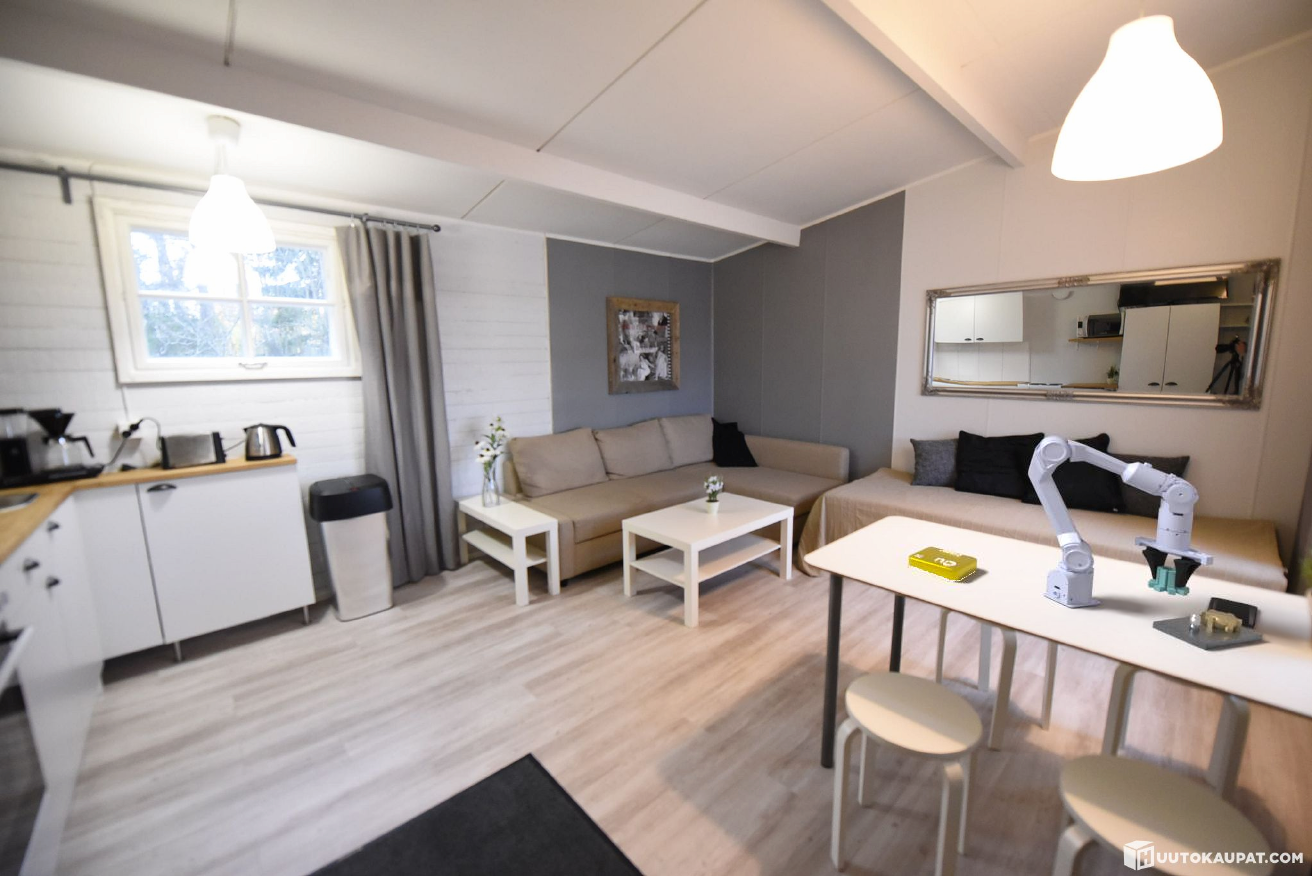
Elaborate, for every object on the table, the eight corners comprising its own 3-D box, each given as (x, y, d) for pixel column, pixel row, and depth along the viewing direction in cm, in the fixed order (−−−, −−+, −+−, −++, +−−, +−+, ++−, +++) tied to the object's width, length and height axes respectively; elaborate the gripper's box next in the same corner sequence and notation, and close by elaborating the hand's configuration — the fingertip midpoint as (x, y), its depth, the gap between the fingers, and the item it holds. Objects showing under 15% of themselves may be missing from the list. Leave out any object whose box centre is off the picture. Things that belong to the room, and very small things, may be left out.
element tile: (979, 571, 155) (979, 557, 154) (956, 584, 146) (957, 569, 145) (929, 558, 167) (930, 544, 166) (905, 569, 158) (906, 554, 157)
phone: (1257, 606, 126) (1255, 626, 116) (1257, 610, 126) (1254, 631, 116) (1211, 596, 132) (1205, 614, 122) (1210, 600, 132) (1204, 618, 123)
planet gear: (1173, 597, 118) (1176, 576, 118) (1140, 585, 125) (1142, 565, 124) (1196, 593, 119) (1199, 573, 119) (1162, 582, 126) (1164, 562, 126)
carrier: (1205, 650, 109) (1207, 627, 108) (1152, 627, 119) (1154, 606, 118) (1262, 641, 112) (1265, 618, 111) (1206, 619, 121) (1208, 598, 121)
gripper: (1226, 536, 114) (1219, 593, 116) (1152, 519, 128) (1147, 569, 130) (1202, 539, 113) (1195, 597, 114) (1130, 521, 127) (1125, 572, 128)
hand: (1168, 582), depth 122 cm, fingers closed on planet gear, 4 cm apart
